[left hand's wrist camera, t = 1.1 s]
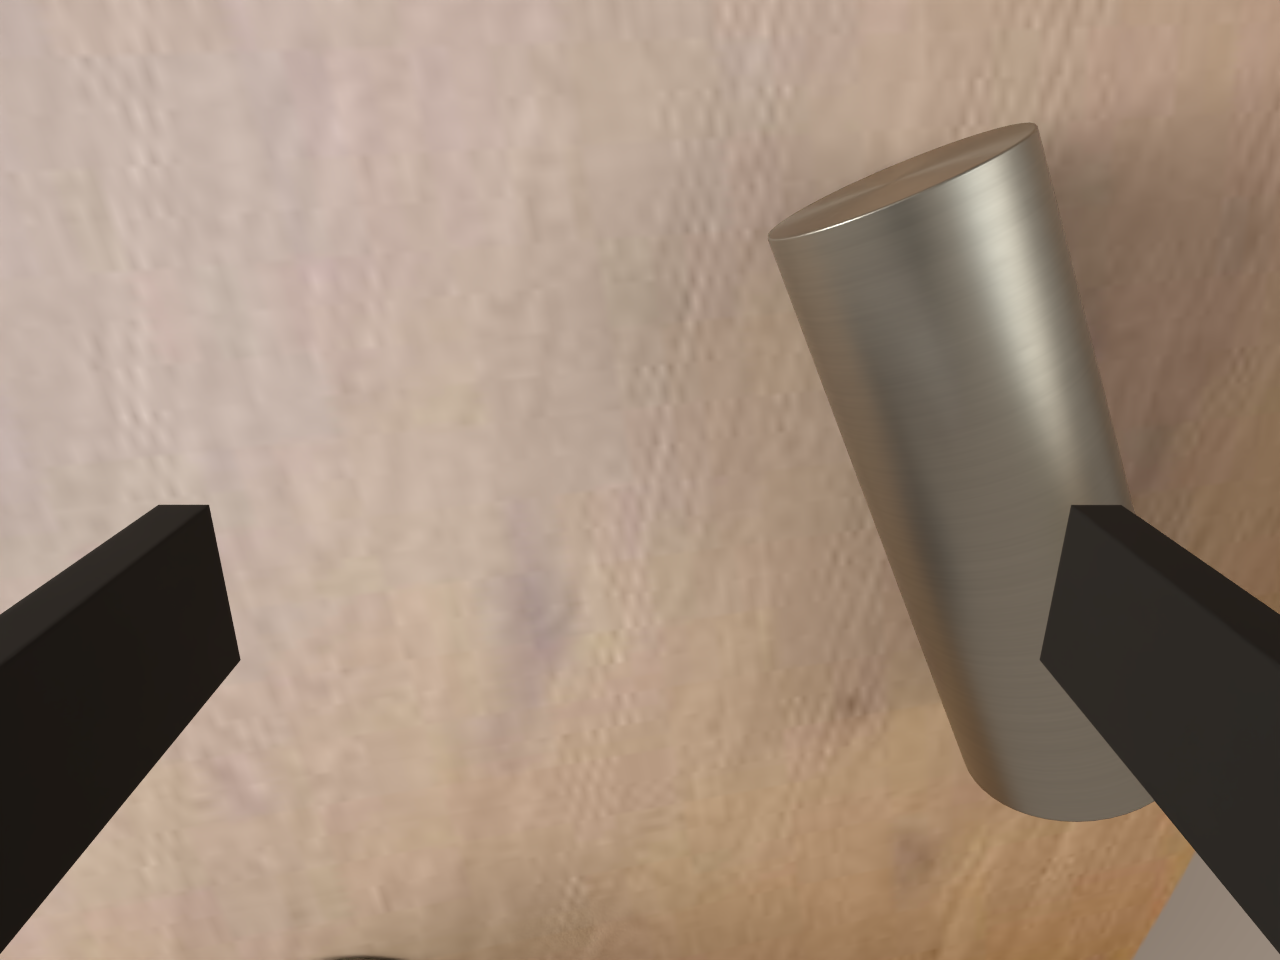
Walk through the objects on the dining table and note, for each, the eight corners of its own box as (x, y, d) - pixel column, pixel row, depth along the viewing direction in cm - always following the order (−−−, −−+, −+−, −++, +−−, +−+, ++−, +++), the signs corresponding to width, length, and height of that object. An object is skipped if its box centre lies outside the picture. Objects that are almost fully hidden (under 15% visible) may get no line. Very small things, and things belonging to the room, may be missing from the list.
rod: (1115, 646, 38) (1245, 776, 30) (935, 710, 39) (1012, 851, 31) (971, 129, 30) (1094, 112, 22) (751, 229, 32) (790, 250, 23)
